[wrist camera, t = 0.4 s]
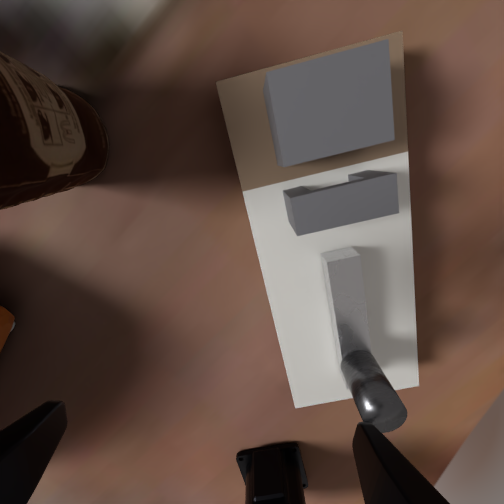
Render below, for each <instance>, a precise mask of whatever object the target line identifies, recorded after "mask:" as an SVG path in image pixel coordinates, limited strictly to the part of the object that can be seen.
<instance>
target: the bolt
mask: <svg viewBox="0 0 504 504" xmlns="http://www.w3.org/2000/svg"><path fill="white" fill-rule="evenodd" d="M320 255H321V261H322V267H323V273H324V279H325V285H326V291H327V297H328V303H329V309H330V315H331V321H332V328H333V334H334V340H335V346H336V352H337V358H338V364H339V370H340V374H341V376H342V379H343V381H344V384H345V386H346V388H347V389H349V390H350V392H351V394H352V397H353V399H354V401H355V404H356V406H357V408H358V411H359V413H360V415H361V418H362V420H363V422H366V423H372V424H373V425H374V426H375V427H376V428H377V429H378V430H379V431H380V432H381V433H385V432H390V431H393V430H395V429H397V428H399V427H400V426H401V425H402V424H403V423H404V422H405V420H406V418H407V410H406V408H405V406H404V404H403V403H402V401H401V400H400V398H399V396H398V395H397V393H396V392H395V390H394V388H393V387H392V385H391V384H390V382H389V380H388V379H387V377H386V375H385V374H384V372H383V371H382V369H381V367H380V366H379V364H378V363H377V361H376V359H375V358H374V356H373V355H372V353H371V344H370V336H369V327H368V318H367V309H366V300H365V292H364V283H363V274H362V265H361V256H360V254H359V253H358V252H356V251H355V250H354V249H353V248H352V247H347V248H342V249H338V250H333V251H329V252H324V253H320Z"/></svg>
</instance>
